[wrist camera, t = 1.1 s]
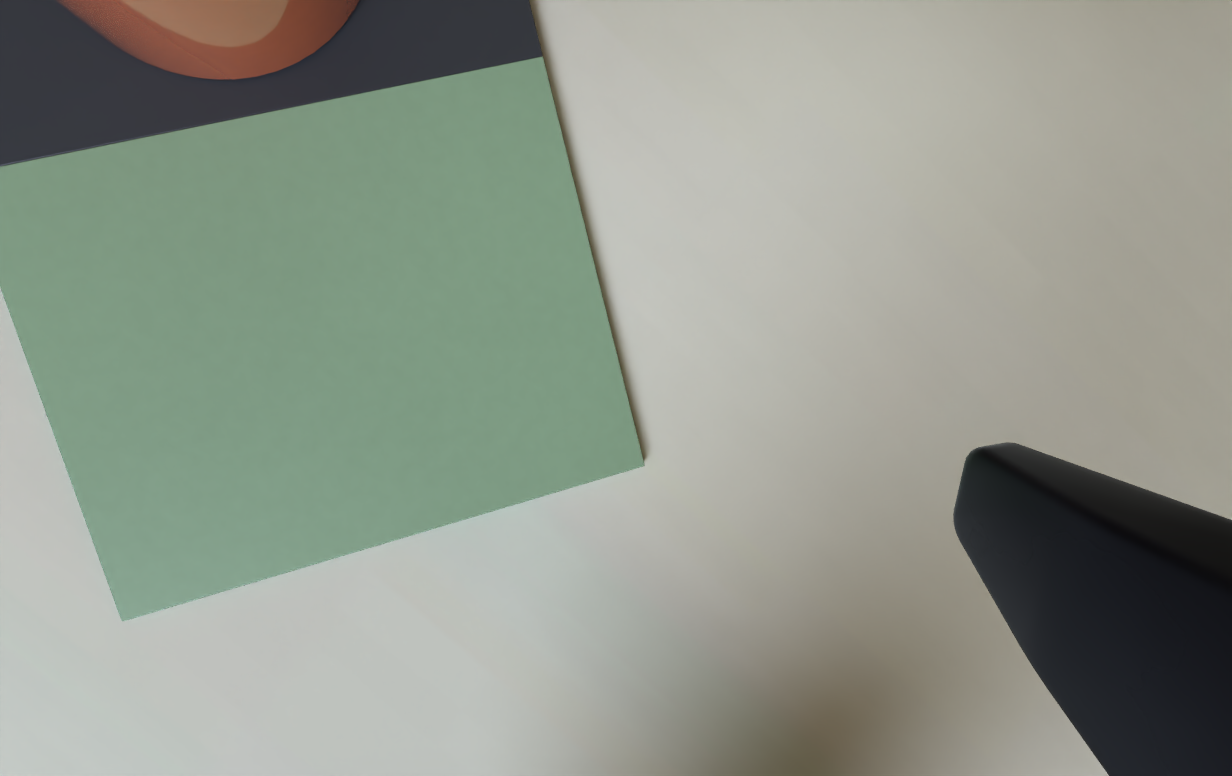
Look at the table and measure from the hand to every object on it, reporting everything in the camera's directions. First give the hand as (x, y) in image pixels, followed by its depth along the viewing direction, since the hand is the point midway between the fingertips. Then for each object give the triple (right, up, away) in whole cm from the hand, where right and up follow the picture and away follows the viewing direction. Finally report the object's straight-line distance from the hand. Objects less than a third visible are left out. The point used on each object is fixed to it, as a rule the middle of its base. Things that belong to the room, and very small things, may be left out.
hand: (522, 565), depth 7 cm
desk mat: (-7, +8, +11) cm, 16 cm away
